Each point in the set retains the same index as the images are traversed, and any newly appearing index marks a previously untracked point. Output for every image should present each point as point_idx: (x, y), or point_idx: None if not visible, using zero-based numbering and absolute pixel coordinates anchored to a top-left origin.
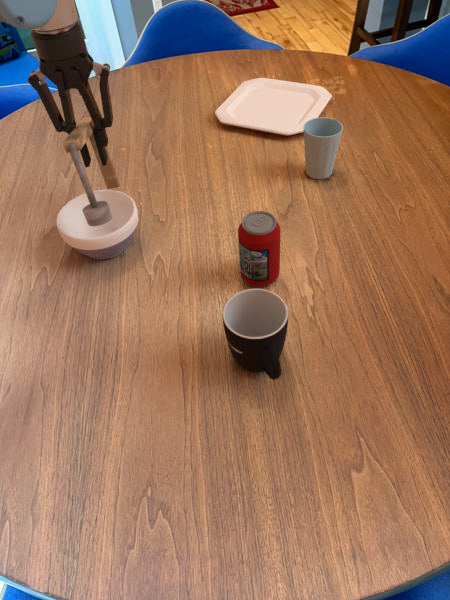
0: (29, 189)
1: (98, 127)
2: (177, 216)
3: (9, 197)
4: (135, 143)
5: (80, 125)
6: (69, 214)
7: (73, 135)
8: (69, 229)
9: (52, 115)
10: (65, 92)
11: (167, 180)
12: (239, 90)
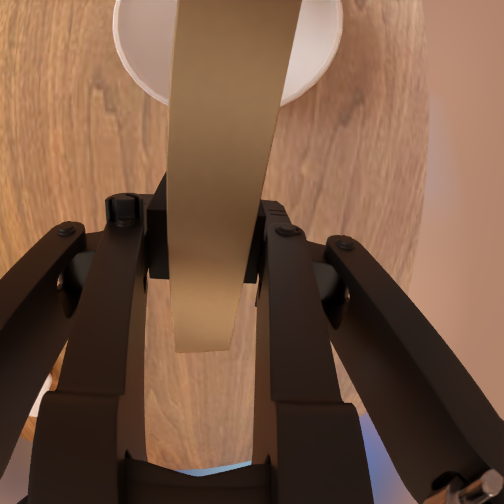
0: (378, 260)
1: (124, 224)
2: (68, 102)
3: (411, 245)
4: (174, 350)
5: (222, 244)
6: (310, 70)
7: (249, 16)
8: (310, 39)
9: (386, 295)
10: (281, 441)
11: (95, 230)
12: (36, 404)
